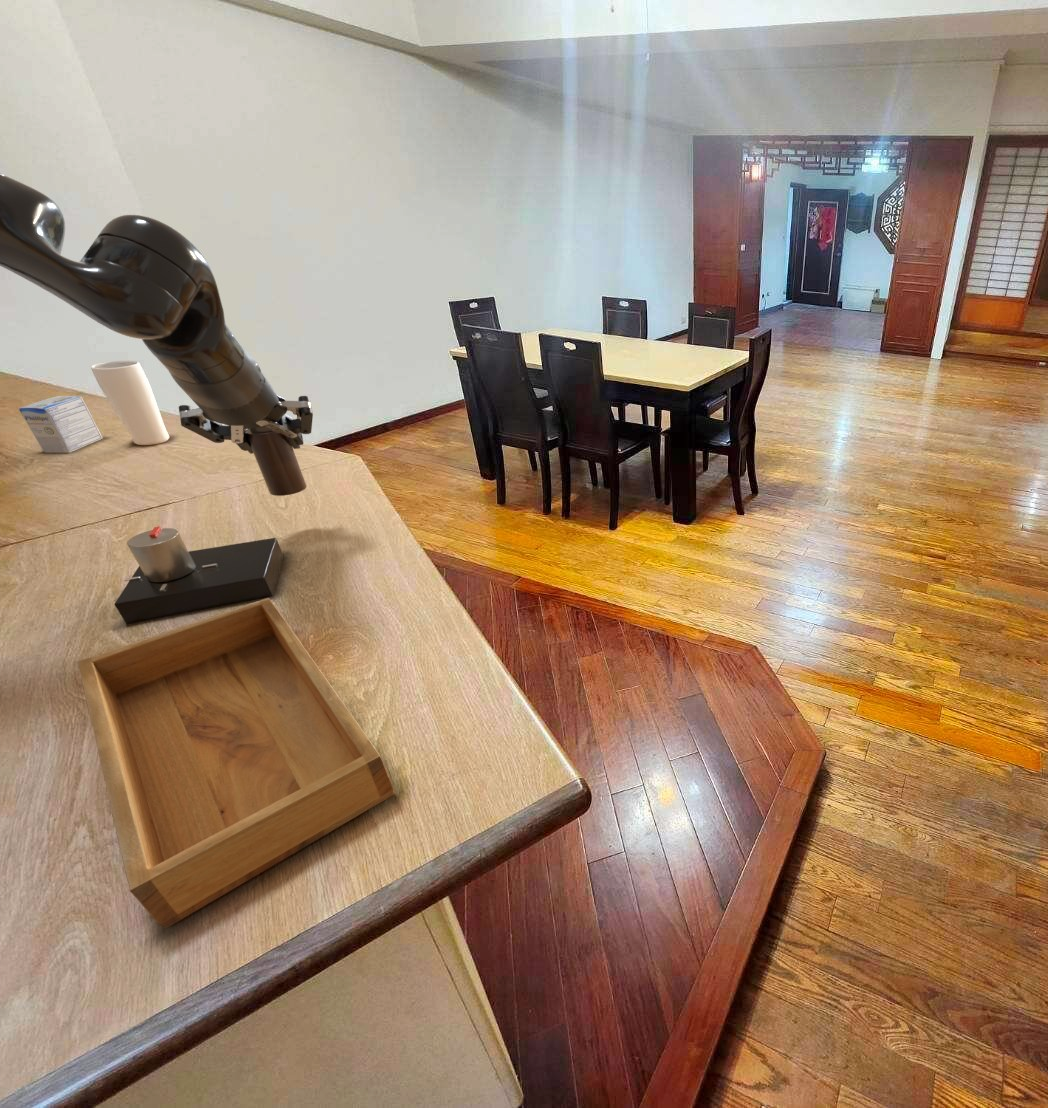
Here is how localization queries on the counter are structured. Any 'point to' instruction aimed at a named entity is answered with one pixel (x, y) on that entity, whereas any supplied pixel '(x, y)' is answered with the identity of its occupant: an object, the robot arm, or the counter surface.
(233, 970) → the counter surface
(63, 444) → the medicine box
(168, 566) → the stove knob
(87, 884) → the counter surface
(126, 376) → the white tall cup
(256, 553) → the stove panel
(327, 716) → the tray
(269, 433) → the pepper mill
